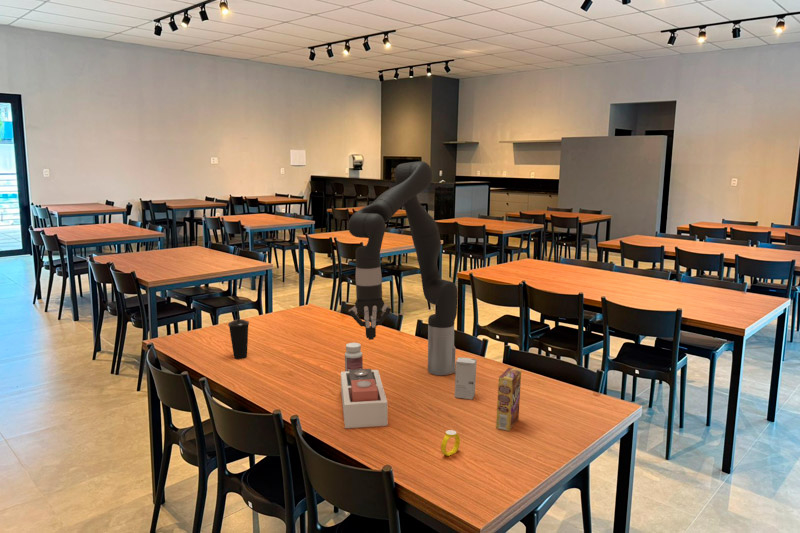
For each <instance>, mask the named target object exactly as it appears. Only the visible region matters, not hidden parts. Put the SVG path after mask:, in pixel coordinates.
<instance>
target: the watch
mask: <svg viewBox="0 0 800 533" xmlns="http://www.w3.org/2000/svg"><path fill="white" fill-rule="evenodd" d="M444 433H445V435H444V437H443V438H442V441H441V444H440V445H441V446H440V449H441V453H442V454H443V455H444V456H446V457H448V456H449V457H450V455H451V456H453V455H454V454H456V453H457V452H458V450H459V448H460V444H461V438H460V435H459V434H458V433H457V431H455V430H452V429H448V430H446V431H445V432H444ZM450 438H455V439H454V440H455V441H454V445H453V447H452V449H451V450H449V451H447V445H448V441H449V439H450Z"/></svg>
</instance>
